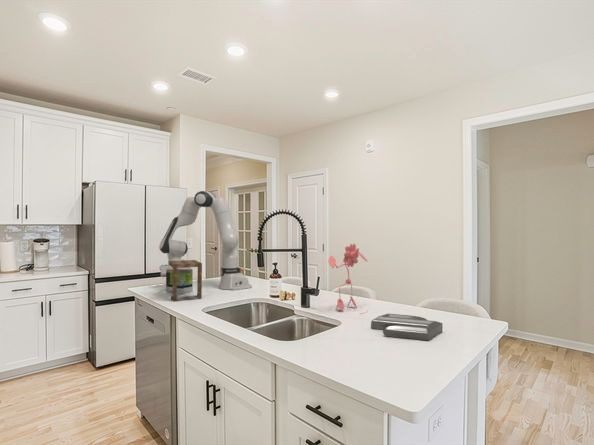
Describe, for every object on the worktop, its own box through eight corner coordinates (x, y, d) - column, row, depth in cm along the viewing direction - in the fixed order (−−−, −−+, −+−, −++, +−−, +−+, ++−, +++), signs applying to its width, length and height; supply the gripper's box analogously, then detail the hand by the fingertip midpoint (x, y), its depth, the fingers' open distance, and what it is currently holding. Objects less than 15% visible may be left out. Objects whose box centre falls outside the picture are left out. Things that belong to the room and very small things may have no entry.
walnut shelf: (194, 292, 213) (194, 259, 213) (201, 298, 196) (201, 263, 196) (168, 294, 205) (168, 261, 206) (172, 301, 188) (173, 264, 188)
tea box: (193, 291, 215) (193, 269, 215) (179, 294, 207) (180, 270, 207) (178, 289, 224) (178, 267, 224) (165, 291, 215) (165, 268, 216)
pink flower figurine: (323, 311, 170) (325, 243, 170) (356, 304, 187) (358, 242, 186) (345, 318, 159) (347, 245, 158) (378, 310, 175) (380, 244, 175)
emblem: (415, 308, 159) (457, 326, 132) (414, 319, 159) (457, 339, 132) (361, 311, 152) (395, 331, 125) (361, 323, 151) (394, 345, 125)
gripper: (159, 262, 225) (161, 278, 217) (190, 260, 235) (193, 276, 227) (158, 268, 229) (160, 284, 221) (189, 266, 239) (192, 282, 231)
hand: (177, 280), depth 224 cm, fingers closed
